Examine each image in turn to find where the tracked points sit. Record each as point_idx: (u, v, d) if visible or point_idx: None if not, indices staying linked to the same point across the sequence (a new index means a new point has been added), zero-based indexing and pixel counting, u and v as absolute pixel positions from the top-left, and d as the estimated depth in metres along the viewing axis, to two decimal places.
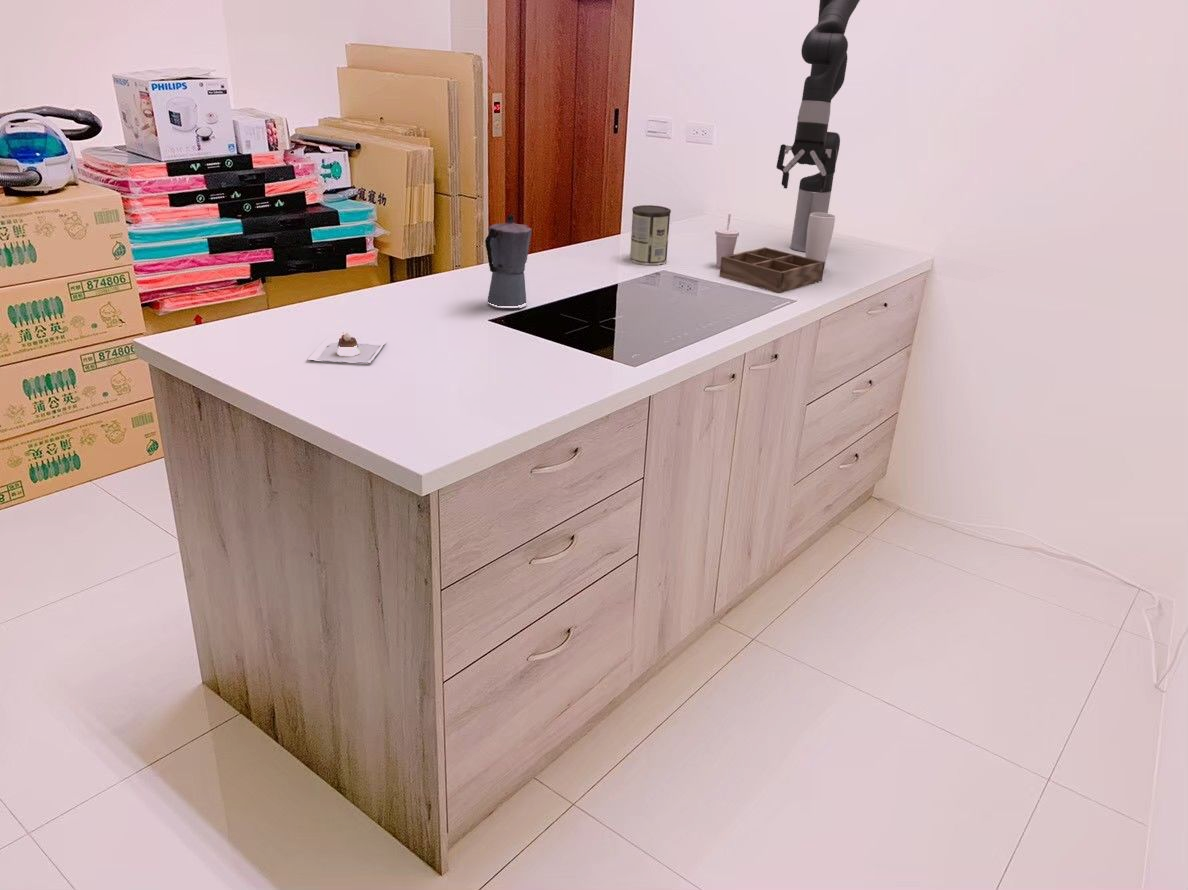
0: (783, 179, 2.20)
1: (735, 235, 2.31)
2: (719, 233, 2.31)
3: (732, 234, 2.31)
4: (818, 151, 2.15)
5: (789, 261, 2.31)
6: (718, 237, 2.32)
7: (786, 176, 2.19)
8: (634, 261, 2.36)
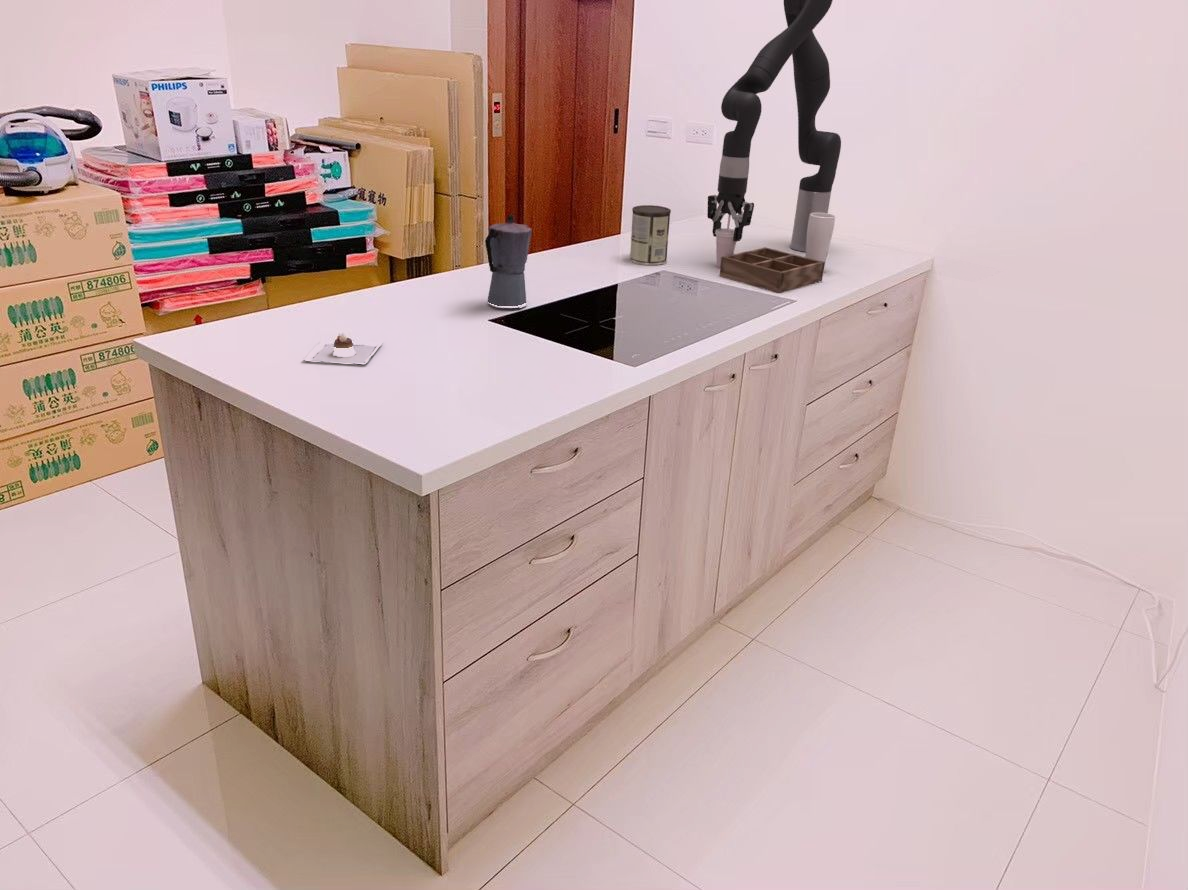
0: (713, 228, 2.35)
1: None
2: (719, 233, 2.31)
3: (732, 234, 2.31)
4: (735, 202, 2.27)
5: (789, 261, 2.31)
6: (718, 237, 2.32)
7: (715, 225, 2.34)
8: (634, 261, 2.36)
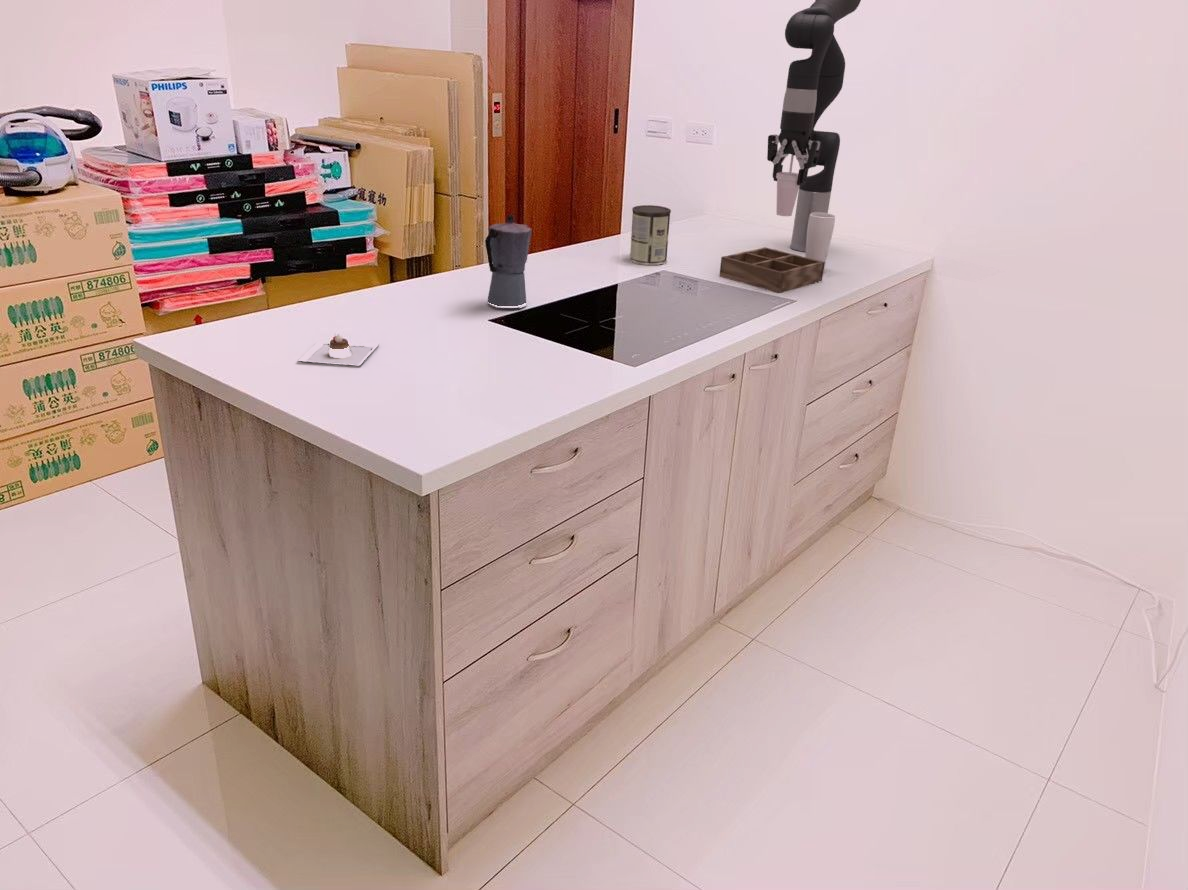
0: (774, 171, 2.13)
1: None
2: (781, 176, 2.09)
3: (796, 177, 2.08)
4: (800, 141, 2.05)
5: (789, 261, 2.31)
6: (780, 181, 2.10)
7: (775, 168, 2.12)
8: (634, 261, 2.36)
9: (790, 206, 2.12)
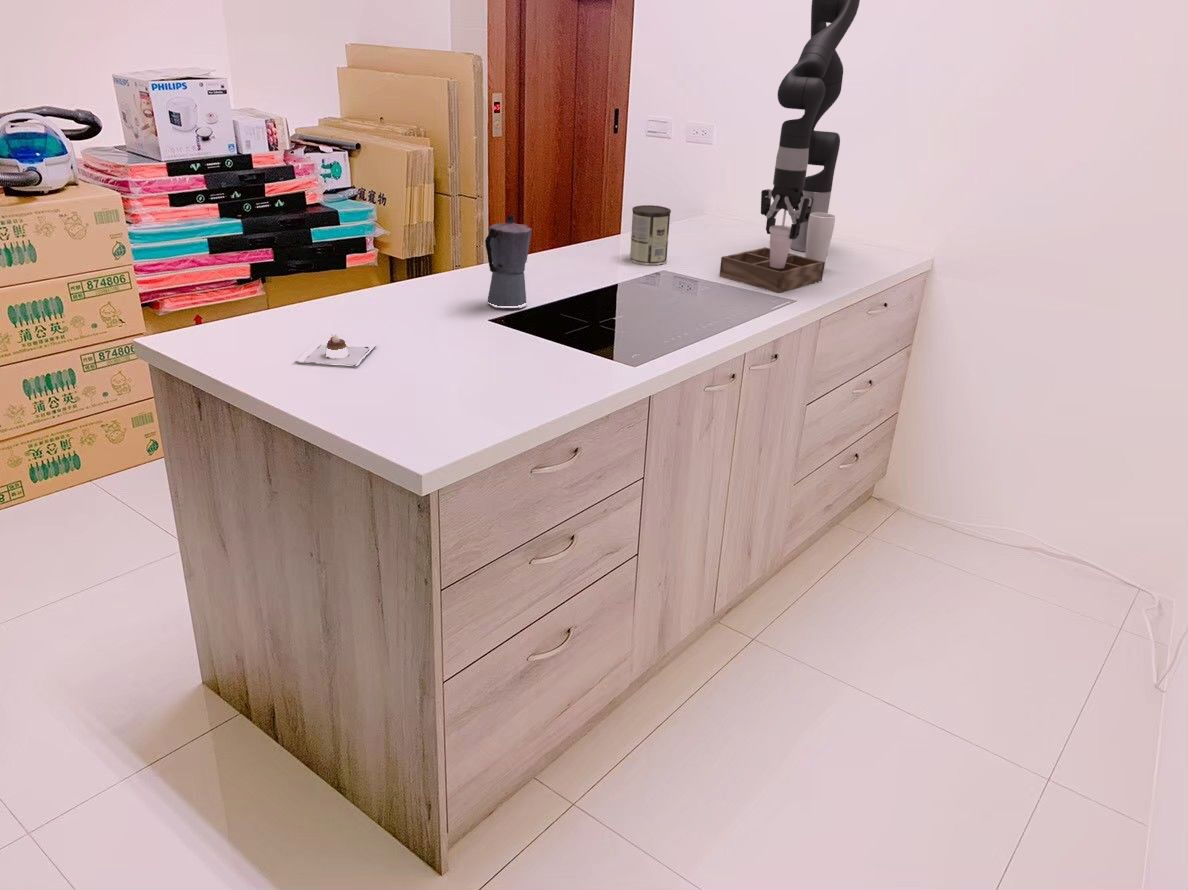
0: (767, 225, 2.18)
1: None
2: (774, 230, 2.15)
3: (788, 231, 2.14)
4: (793, 197, 2.10)
5: (789, 261, 2.31)
6: (773, 235, 2.16)
7: (769, 222, 2.17)
8: (634, 261, 2.36)
9: (783, 259, 2.18)
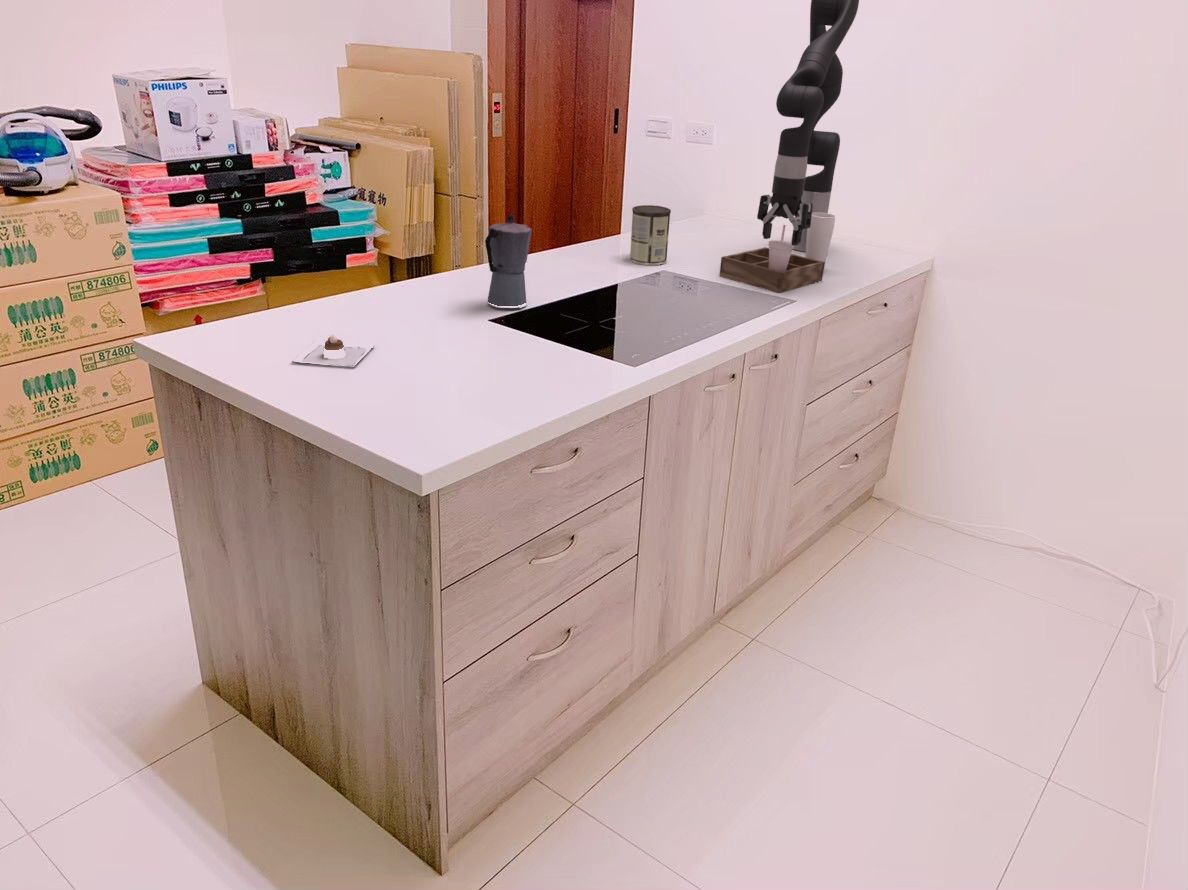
0: (763, 229, 2.19)
1: (790, 247, 2.16)
2: (773, 245, 2.17)
3: (787, 246, 2.16)
4: (792, 205, 2.11)
5: (789, 261, 2.31)
6: (772, 249, 2.17)
7: (765, 227, 2.18)
8: (634, 261, 2.36)
9: None
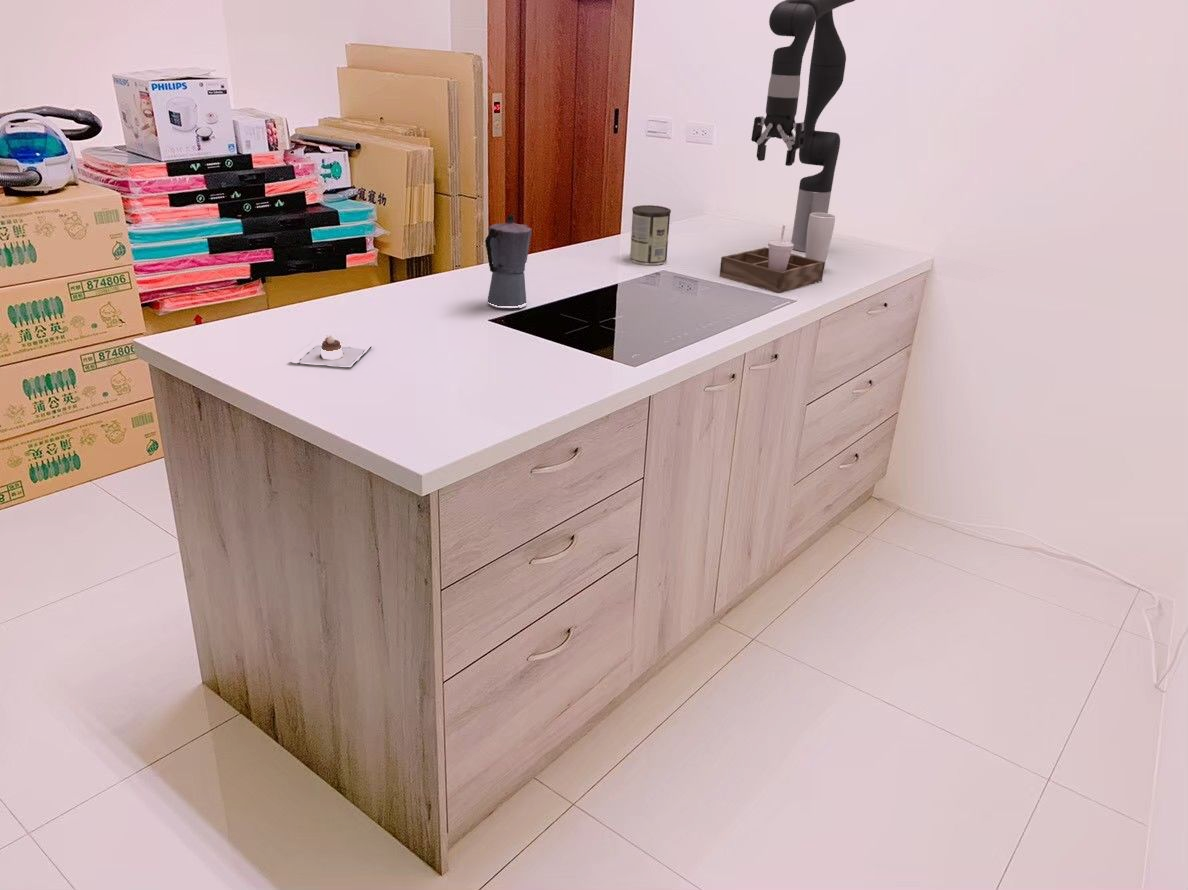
0: (758, 151, 2.23)
1: (790, 248, 2.16)
2: (772, 245, 2.16)
3: (787, 247, 2.16)
4: (785, 125, 2.15)
5: (789, 261, 2.31)
6: (771, 250, 2.17)
7: (759, 149, 2.22)
8: (634, 261, 2.36)
9: None
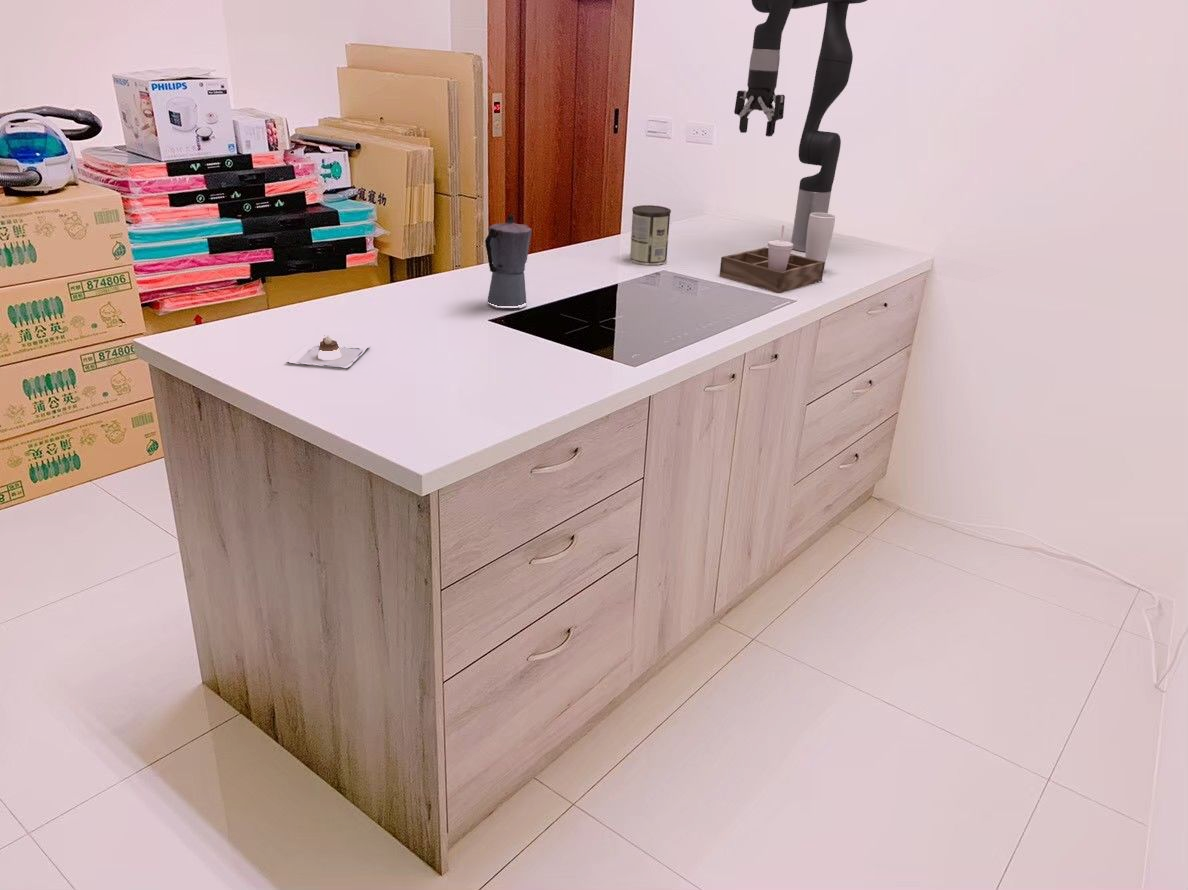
0: (740, 124, 2.35)
1: (789, 247, 2.16)
2: (772, 245, 2.16)
3: (786, 246, 2.16)
4: (765, 97, 2.27)
5: (789, 261, 2.31)
6: (771, 249, 2.17)
7: (741, 121, 2.34)
8: (634, 261, 2.36)
9: None
